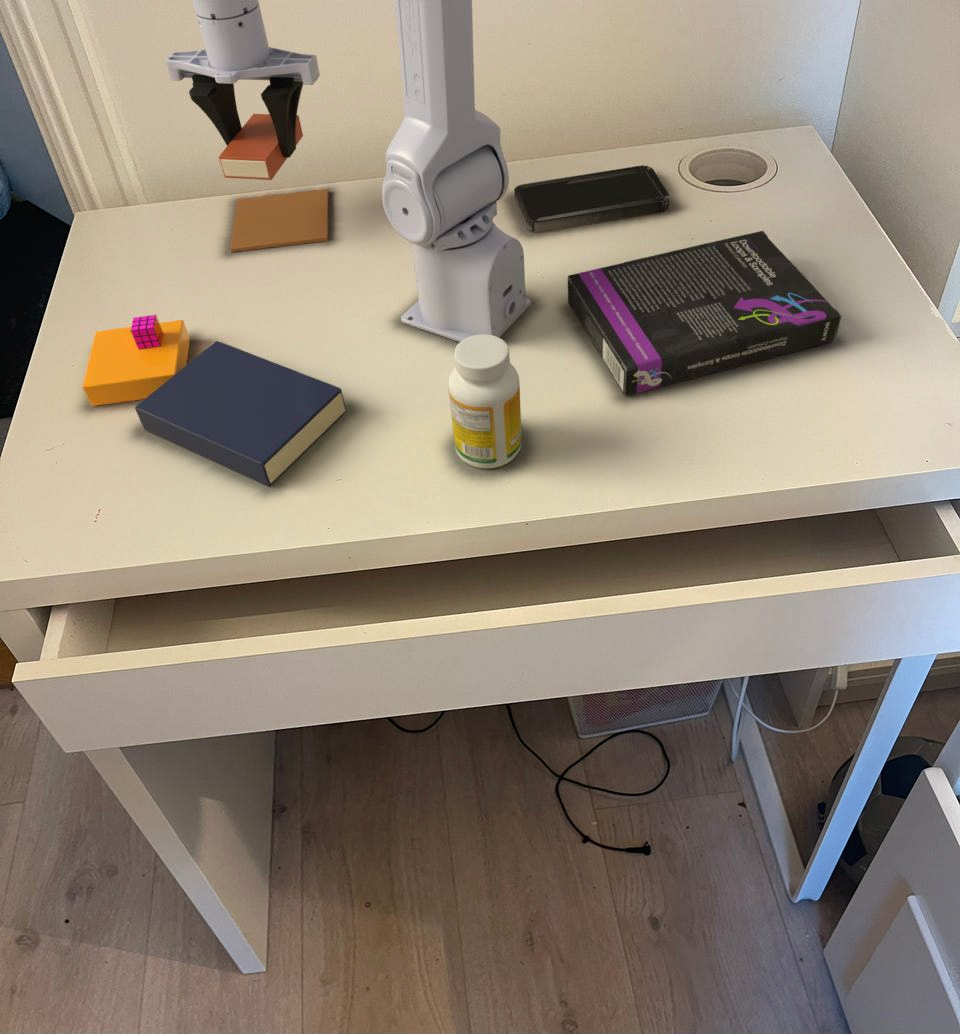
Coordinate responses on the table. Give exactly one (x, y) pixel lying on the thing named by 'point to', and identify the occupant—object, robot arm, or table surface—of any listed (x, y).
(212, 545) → the table surface
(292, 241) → the desk pad
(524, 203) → the phone
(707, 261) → the box
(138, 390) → the flat orange square block
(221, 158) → the paperback
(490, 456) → the supplement bottle
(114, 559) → the table surface
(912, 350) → the table surface
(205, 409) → the hardcover
